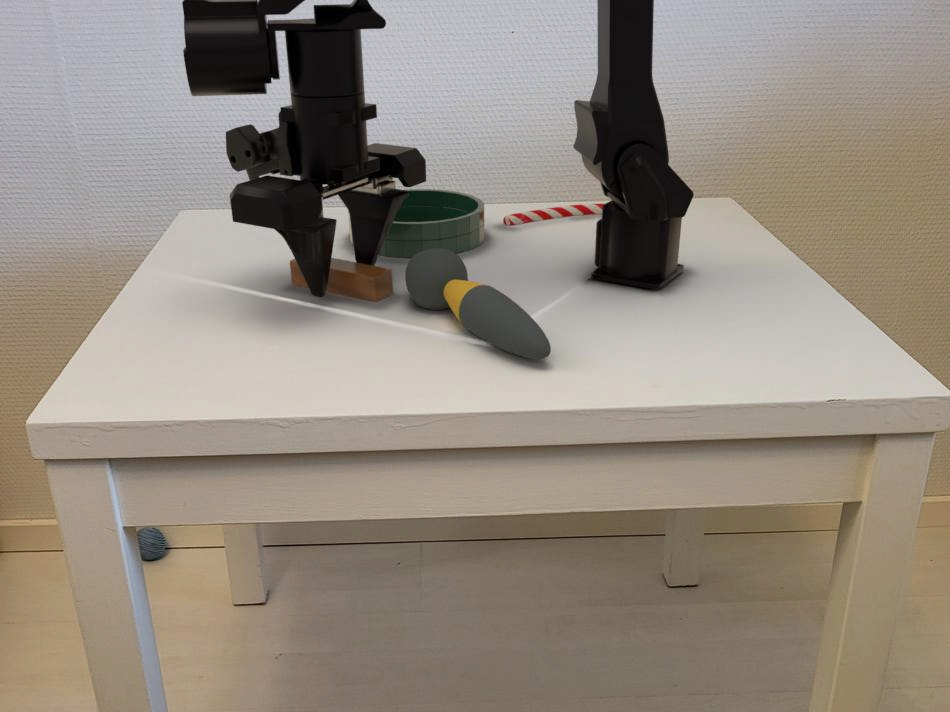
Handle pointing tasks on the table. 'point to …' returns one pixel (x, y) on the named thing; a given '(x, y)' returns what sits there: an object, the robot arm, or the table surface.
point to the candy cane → (552, 213)
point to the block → (352, 280)
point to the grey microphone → (473, 303)
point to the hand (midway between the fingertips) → (342, 285)
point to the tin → (434, 223)
